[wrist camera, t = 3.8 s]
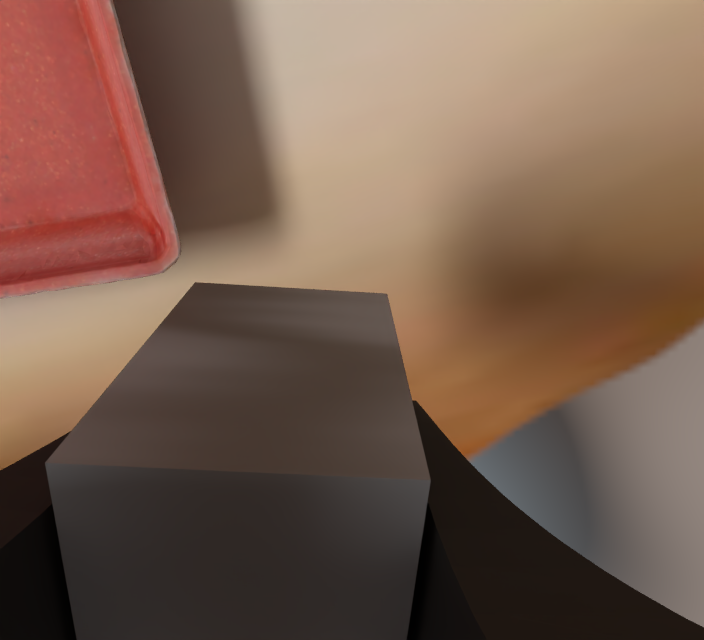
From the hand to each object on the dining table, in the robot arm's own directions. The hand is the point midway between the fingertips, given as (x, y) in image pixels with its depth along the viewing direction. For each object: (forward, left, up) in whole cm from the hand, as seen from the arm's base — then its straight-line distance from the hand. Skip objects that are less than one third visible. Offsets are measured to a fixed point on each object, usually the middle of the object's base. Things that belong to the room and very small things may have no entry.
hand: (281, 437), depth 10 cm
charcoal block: (0, 0, -2) cm, 2 cm away
